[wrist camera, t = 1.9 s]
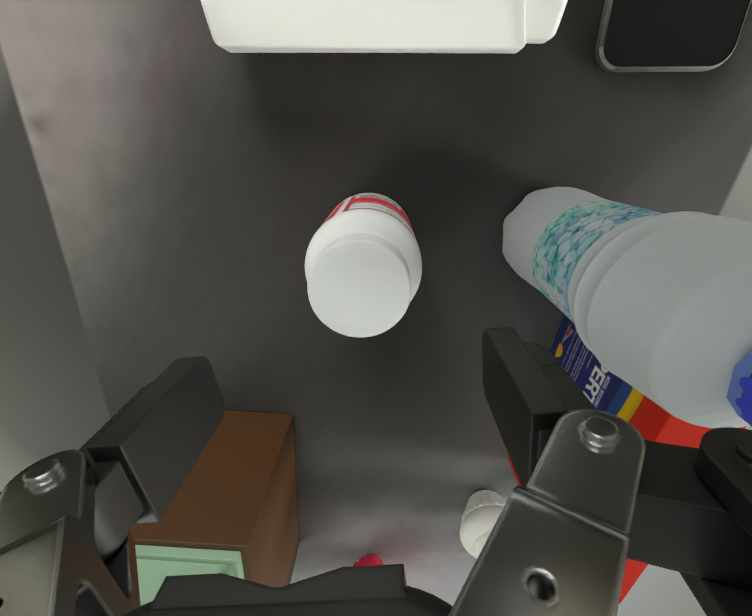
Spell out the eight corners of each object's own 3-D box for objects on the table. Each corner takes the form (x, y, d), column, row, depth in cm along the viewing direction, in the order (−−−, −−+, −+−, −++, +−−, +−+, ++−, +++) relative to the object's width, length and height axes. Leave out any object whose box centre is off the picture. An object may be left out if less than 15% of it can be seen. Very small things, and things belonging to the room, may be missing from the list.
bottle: (510, 289, 28) (751, 570, 9) (476, 210, 25) (710, 377, 7) (600, 249, 26) (1090, 487, 8) (573, 160, 24) (1178, 210, 6)
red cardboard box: (548, 464, 35) (620, 604, 24) (507, 459, 35) (561, 597, 24) (628, 288, 27) (781, 378, 17) (577, 281, 27) (698, 366, 17)
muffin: (464, 473, 35) (482, 545, 29) (524, 484, 36) (554, 558, 29) (445, 515, 38) (457, 590, 32) (502, 525, 38) (525, 601, 32)
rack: (183, 406, 33) (10, 628, 18) (293, 413, 33) (214, 641, 18) (208, 537, 40) (101, 773, 25) (298, 543, 40) (246, 782, 25)
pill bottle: (347, 288, 28) (325, 368, 18) (311, 212, 26) (263, 255, 16) (424, 258, 27) (447, 326, 17) (394, 176, 25) (399, 198, 15)
